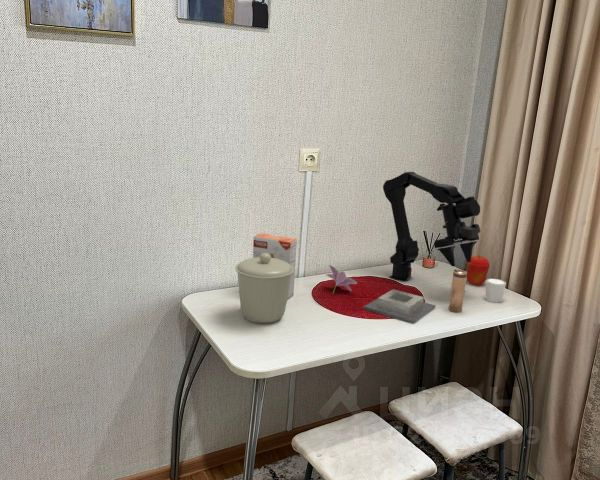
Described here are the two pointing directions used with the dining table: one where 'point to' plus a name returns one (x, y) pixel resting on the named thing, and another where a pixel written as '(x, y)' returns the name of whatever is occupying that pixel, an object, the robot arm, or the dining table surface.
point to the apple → (477, 270)
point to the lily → (340, 278)
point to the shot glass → (494, 290)
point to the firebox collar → (400, 306)
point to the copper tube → (457, 290)
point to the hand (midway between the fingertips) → (461, 264)
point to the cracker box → (277, 251)
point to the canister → (263, 288)
